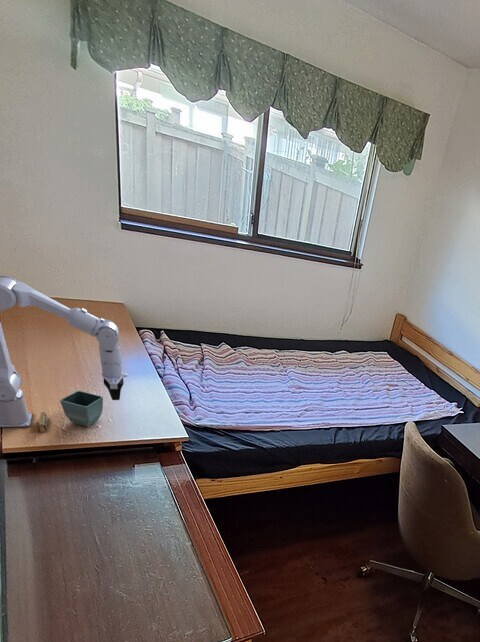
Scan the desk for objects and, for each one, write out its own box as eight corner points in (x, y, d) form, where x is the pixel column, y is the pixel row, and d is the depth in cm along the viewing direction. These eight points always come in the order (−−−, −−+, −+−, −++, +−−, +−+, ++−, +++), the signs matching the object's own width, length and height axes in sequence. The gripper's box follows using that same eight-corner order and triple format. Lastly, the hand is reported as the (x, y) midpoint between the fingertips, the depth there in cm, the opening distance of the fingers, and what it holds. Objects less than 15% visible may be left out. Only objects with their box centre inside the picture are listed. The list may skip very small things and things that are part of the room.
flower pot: (107, 420, 155) (103, 396, 150) (90, 431, 148) (86, 407, 143) (81, 413, 155) (77, 389, 150) (63, 425, 148) (59, 400, 143)
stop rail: (40, 432, 142) (38, 424, 140) (42, 419, 147) (40, 412, 146) (46, 432, 143) (44, 424, 141) (48, 419, 148) (46, 412, 147)
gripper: (126, 370, 141) (130, 409, 148) (124, 352, 151) (128, 389, 158) (100, 370, 137) (105, 409, 145) (99, 351, 147) (105, 389, 155)
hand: (115, 399), depth 151 cm, fingers closed
